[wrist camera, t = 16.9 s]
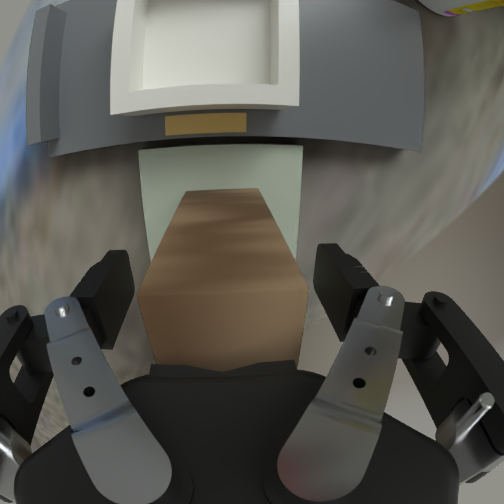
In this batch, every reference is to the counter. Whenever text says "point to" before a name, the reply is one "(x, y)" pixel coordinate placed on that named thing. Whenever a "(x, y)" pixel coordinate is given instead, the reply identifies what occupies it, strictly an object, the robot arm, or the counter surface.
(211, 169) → the tool rest
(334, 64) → the switch panel
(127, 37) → the tab
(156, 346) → the peg
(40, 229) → the counter surface
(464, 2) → the supplement bottle
